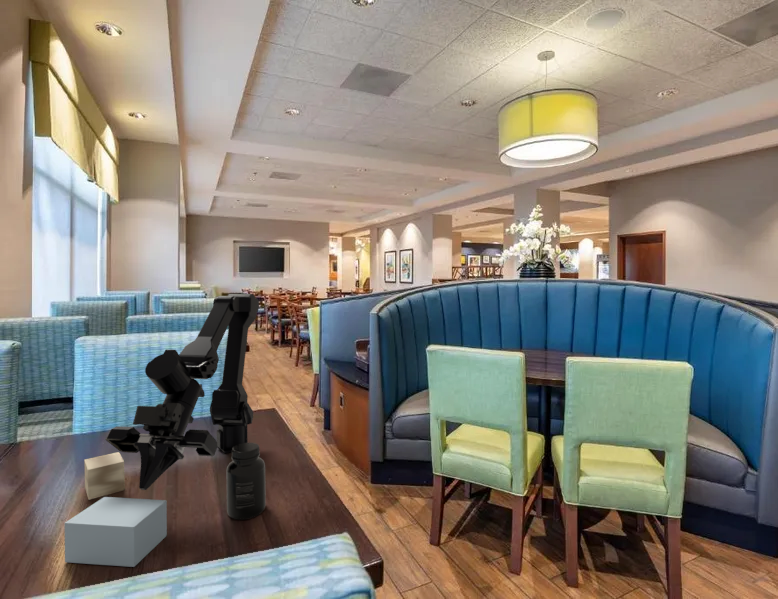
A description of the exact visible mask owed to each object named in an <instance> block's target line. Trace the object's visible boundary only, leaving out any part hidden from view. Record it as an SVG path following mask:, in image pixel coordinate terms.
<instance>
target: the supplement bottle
mask: <svg viewBox="0 0 778 599" xmlns="http://www.w3.org/2000/svg"><path fill="white" fill-rule="evenodd" d="M260 455H261V453H260V444H258V443H256V442H248V443H242V444H238V445H236V446H234V447H233V448H232V452H231V461H230V462H229V463H228V465H227V467H226V469H225V470H226V472H225V473H226V512H227V515H228V516H229V517H230V518H232V519H233V520H238V521H239V520H240V521H241V520H249V519H252V518H255V517H257V516H259V515H260V514H262V513H263V512H264V511H265V508H266V500H267V499H266V498H267V497H266V496H267V495H266V463H265V460H264V459H262V458H261V457H260Z"/></svg>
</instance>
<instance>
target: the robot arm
mask: <svg viewBox="0 0 778 599" xmlns="http://www.w3.org/2000/svg"><path fill="white" fill-rule="evenodd" d="M212 304H213V305H212V308H211V310H210V312H209V313H208V315H207V316H206V319H205V321H204V323H203V325H202V327H201V329H200V331H199V332H198V334H197V336H196V337H195V339H194V340H192V341H191V342H190V343H188V344H187V345H185V346H184V347H183V349H182V350H181V351H180V353H178V351H177V350H176V349H165V350H164V352H163V353H162V354H159V355H157V356H156V357H154V358H152V359H151V360H150V361H149V362H148V363H147V364H146V366H145V370H144V372H145V375H146V377H147V378H148V379H149V380H150V381H151V382H152V384H153V385H154V386H155V387H156V388H157V389H158V391H160V393H162V394H163V395H166V396H165V398H164V400H163V402H162V403H157V405H155V406H154V405H151V406H150V405H149V406H148V405H138V406H137V407H136V411H135V414H134V418H133V422H132V425H135V426H137V425H140V426H141V425H142V426H143V427H142V429H143V430H144V431H145V432H148V433H141V432H140V431H138V430H137V428H135V427H134V426H115V427H113V428H111V429H110V430H109V431H108V434H107V436H106V438H105V441H106V442H107V443H108V444H110V445H111V446H112V447H114V448H115V449H117V450H118V452H119V451H120V452H122V453H128V454H129V453H130V454H137V453H139V454H140V473H139V484H138V488H139V489H140V490H142V491H147V490H148V489H149V488H150V487H151V486H152V485H153V484H154V483H155V482H156V481H157V480H158V479H159V478H160V477H161V476H162V475H164V473H165V472H166V471H167V470H168V469H170V468H171V466H173V465H174V464H175V463H176V462H178V461H179V460H183V459H184V458H185V455H184V453H185V449H186V448H191V449H193V448H194V449H195V448H196V450H195V451H196V453H197V455H198V457H199V456H200V457H215V454H216V451H217V449H218V448H219V450H221V452H223V453H224V454H227V453H232V448H233V447H234V446H236V445H238V444H242V443H249V442H248V440H249V439H248V437H249V436H248V425H251V424H253V418H254V410H253V409H252V407H251V406H250V405H249V402H248V397H249V396H248V393H247V391H246V389H245V387H244V386H243V379H244V373H245V372H244V371H245V362H246V361H245V360H246V353H247V343H248V334H249V328H250V327H251V325H253V323H254V322H255V320H256V318H257V313H258V311H259V309H260V308H259V307H260V301H259V299H258V298H257V297H255V294H252V293H229V294H227V295H218V296H216V297H214V300H213V303H212ZM227 330H228V331H227ZM226 331H227V338H226V347H225V355H224V361H223V362H224V364H223V372H222V381H221V384H220V386H218V387H217V389H213V391H212V393H211V401H210V402H211V403H210V406H209V413H210V418H211V422H212V426H217V425H218V429H216V439H215V438H214V436H213V435H212V434H211V433H210V431H209V430H207V429H189V430H187V431H186V429H187V427H188V424H193V422H194V417H193V416H192V415H193V412H194V410H195V408H196V405H197V403H198V400H199V398H204V397H205V390H204V389H203V385H202V384H201V383H199V381H198V380H209V379H211V378H212V377H214V375H215V373H216V372H217V369H218V364H219V361H220V358H219V355H218V349H219V346H220V344H221V342H222V340H223V338H224V336H225V334H226Z"/></svg>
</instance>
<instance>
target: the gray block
mask: <svg viewBox="0 0 778 599" xmlns="http://www.w3.org/2000/svg"><path fill="white" fill-rule="evenodd" d="M167 508H168V506H167V500H166V499H149V498H132V497H131V498H130V497H114V496H113V497H112V496H102V497H101V498H100V499H99V500H97V501H96V502H94V503H93V504H91V505H89V506H88V507H87V508H85V509H84V510H82V511H80V512H79V513H77V514H76V515H74V516H73V517H72V518H70V519H68V520H67V521H65V522H64V563H69V564H70V563H73V564H84V565H85V564H87V565H100V566H117V567H130V568H132V567H133V568H135V567H136V566H137V565H138V564H139V563H140V562H142V560H143V559H144V558H145V557H147V555H148V554H149V553H150V552H151V551H152V550H154V549H155V547H157V545H159V544H160V543H161V542H162V541H163V539H165V538H166V537H167V535H168V534H167V532H168V530H167V526H168V525H167V524H168V522H167V515H168V514H167V512H168V511H167V510H168V509H167Z"/></svg>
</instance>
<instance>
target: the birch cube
mask: <svg viewBox="0 0 778 599" xmlns="http://www.w3.org/2000/svg"><path fill="white" fill-rule="evenodd" d="M83 467H84V490H85V492H86V496H87V499H88V500H89V501H90V500H93V499H97V498H102V497H106V496H108V495H111V494H114V493H119V492H122V491H125V490H126V489H125V485H126V484H125V483H126V481H125V461H124V458H123V457H122V455H121V453H120V452H119V451H118V452H113V453H108V454H103V455H100V456H94V457H90V458H86V459H85V458H84V466H83Z"/></svg>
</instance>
